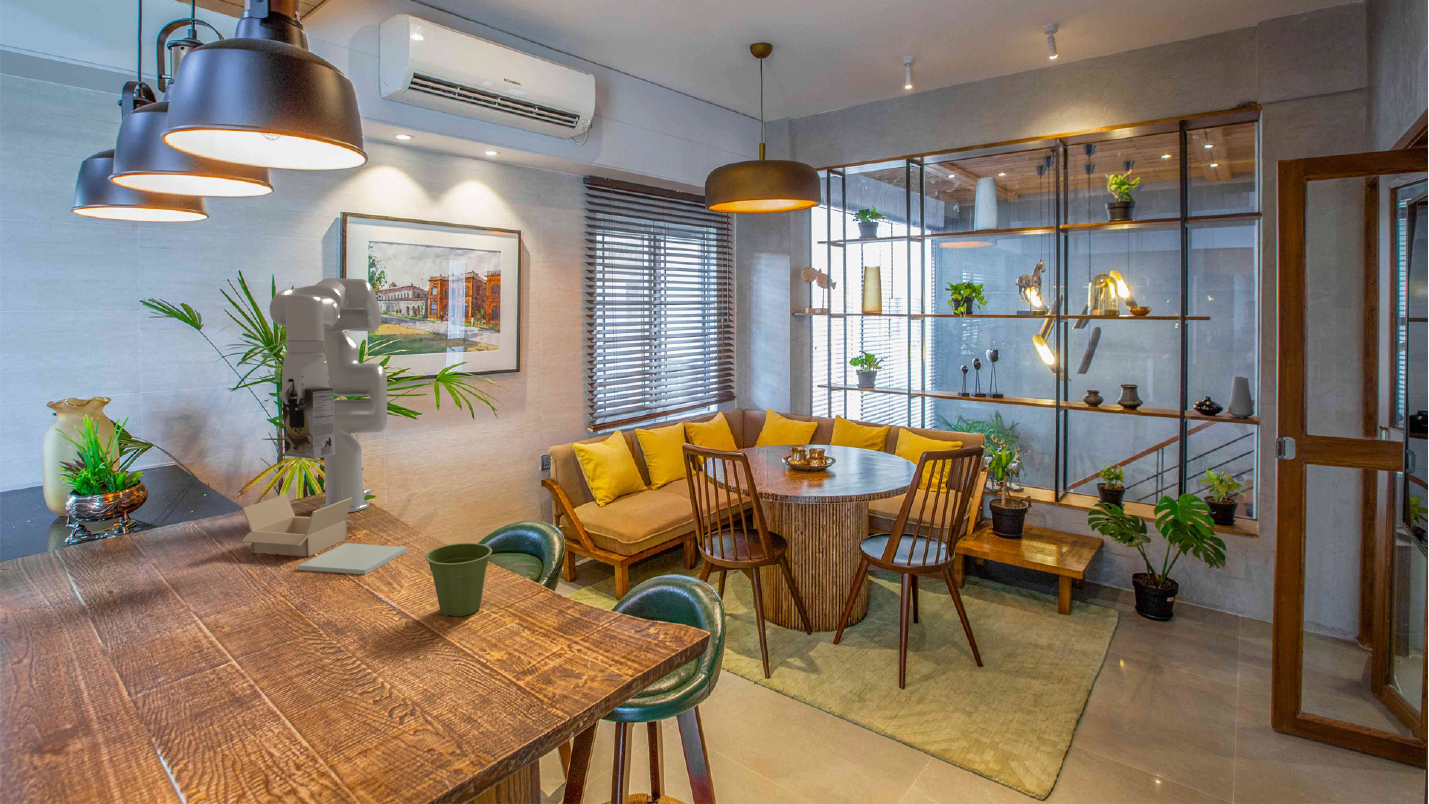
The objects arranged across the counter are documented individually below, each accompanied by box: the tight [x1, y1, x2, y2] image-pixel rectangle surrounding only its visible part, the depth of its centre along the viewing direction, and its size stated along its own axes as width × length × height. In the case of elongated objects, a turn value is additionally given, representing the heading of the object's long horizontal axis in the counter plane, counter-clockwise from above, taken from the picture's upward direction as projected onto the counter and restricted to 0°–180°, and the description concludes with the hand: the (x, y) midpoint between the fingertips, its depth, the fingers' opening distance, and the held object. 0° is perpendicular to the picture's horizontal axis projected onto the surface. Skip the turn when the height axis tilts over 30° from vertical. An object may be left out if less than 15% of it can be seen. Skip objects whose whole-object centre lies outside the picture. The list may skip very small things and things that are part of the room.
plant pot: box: [424, 542, 493, 618], centre depth 131 cm, size 12×12×11 cm
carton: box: [241, 493, 354, 557], centre depth 167 cm, size 19×18×11 cm
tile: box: [297, 542, 409, 576], centre depth 158 cm, size 16×16×1 cm
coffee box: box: [281, 387, 335, 460], centre depth 162 cm, size 9×6×16 cm
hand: (309, 424), depth 162 cm, fingers closed on coffee box, 7 cm apart
